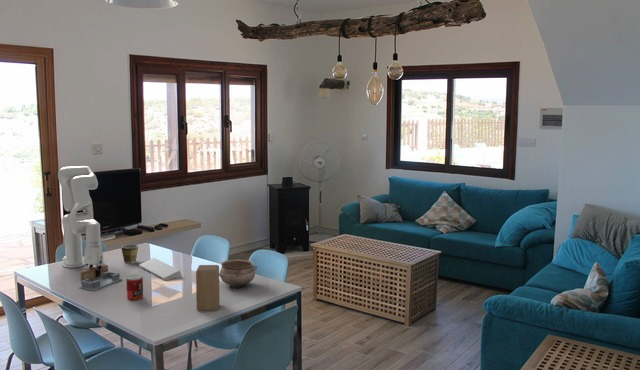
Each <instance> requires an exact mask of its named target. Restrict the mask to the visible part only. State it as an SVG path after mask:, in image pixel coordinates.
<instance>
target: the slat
mask: <svg viewBox="0 0 640 370" xmlns="http://www.w3.org/2000/svg"><path fill="white" fill-rule="evenodd" d="M98 266H99V265H98ZM95 270H96V265H94V266H93V267H92V268H89V269H88V268H87V269H83V270H81V271H80V280H81V281H83V280H85V279H90V281H91V280H93V279H95V278H100V277H102V273H105V272H109V265H108V264H105V265H104V266H103V267H102V268H101V269H100V271H101V275H100V276H98V277H96V272H95Z"/></svg>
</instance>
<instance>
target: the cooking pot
mask: <svg viewBox="0 0 640 370" xmlns="http://www.w3.org/2000/svg"><path fill="white" fill-rule="evenodd" d="M254 264H255V263H254V262H253V261H251V260H248V259H238V258H237V259H230V260H229V259H228V260H225V261H223V262H220V265H221V268H220V269H219V279H221V281H222V283H224V284H226V285H229V286H231V287H232V288H242V287H244V286H246V285H248V284H250V283H251V282H252V281H253V279H255V275H256V270H258V265H254Z"/></svg>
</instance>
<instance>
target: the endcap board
mask: <svg viewBox="0 0 640 370" xmlns="http://www.w3.org/2000/svg"><path fill="white" fill-rule="evenodd" d="M122 280H123V278H122V277H120V272H115V271H109V270H108V272H105V273H102V276H101V278H99V279H97V280H93V281H91V280H90V279H85V280H81V285H79V287H78V288H79V289H82V290H88V291H97V290H100V289H101V288H104V287H107V286H110V285H112V284H115V283H117V282H120V281H122Z"/></svg>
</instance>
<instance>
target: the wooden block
mask: <svg viewBox="0 0 640 370" xmlns="http://www.w3.org/2000/svg"><path fill="white" fill-rule="evenodd" d="M219 274H220V266H219V265H218V264H199V265H198V267H197V269H196V271H195V284H196V285H195V288H196V289H195V292H196V298H195V299H196V300H195V301H196V311H199V312H201V311H202V312H203V311H205V312H206V311H207V312H208V311H210V312H211V311H214V312H215V311H218V309H219V307H220V276H219Z"/></svg>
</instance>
